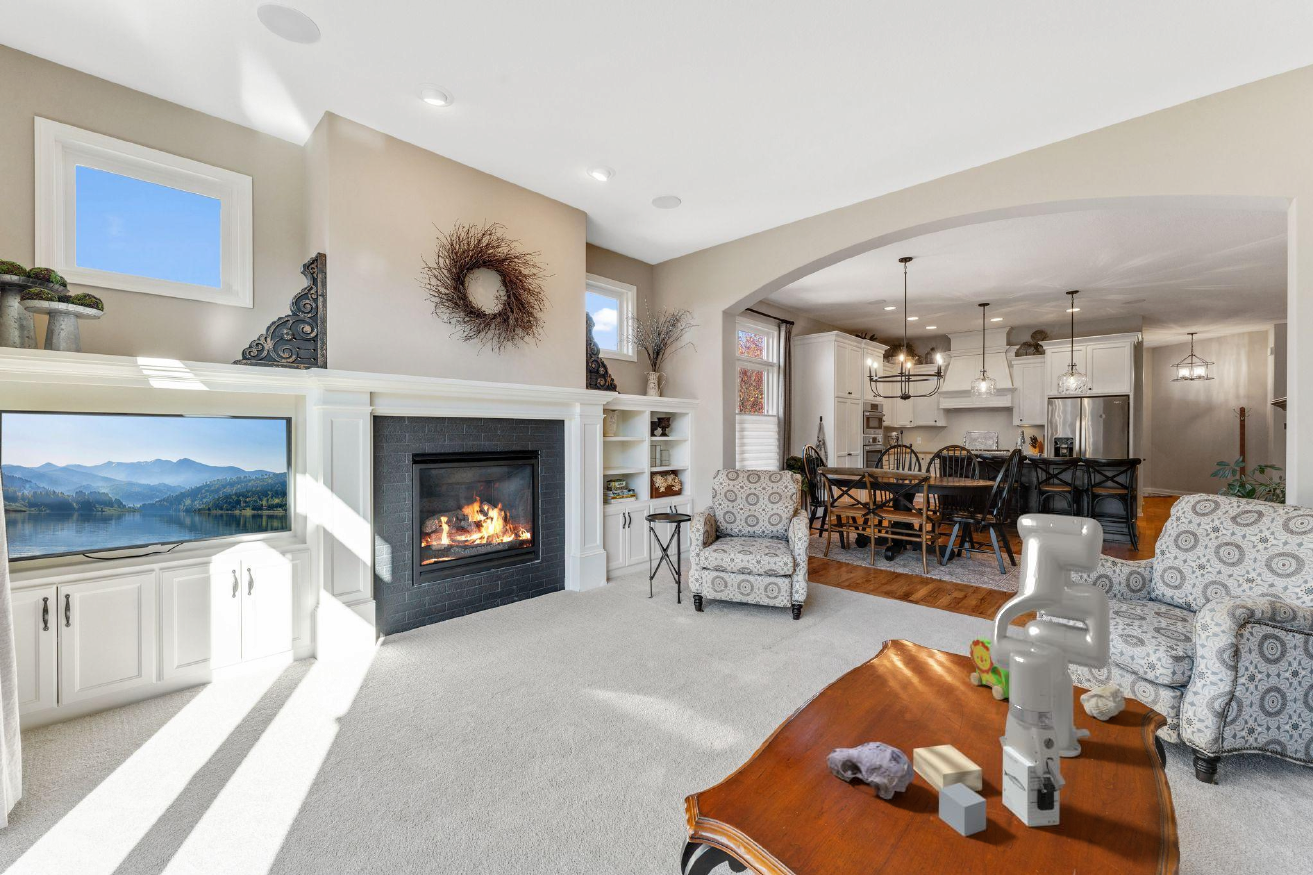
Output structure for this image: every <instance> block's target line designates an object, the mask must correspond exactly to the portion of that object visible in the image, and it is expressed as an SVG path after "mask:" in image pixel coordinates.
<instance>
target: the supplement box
mask: <svg viewBox="0 0 1313 875" xmlns="http://www.w3.org/2000/svg"><path fill="white" fill-rule="evenodd" d="M1043 774H1049V771H1048V769H1047V768H1046V770H1045V772H1043ZM1043 780H1044V783H1045V785H1046V784H1048V777H1043ZM1038 789H1040V787H1039V784H1038V776H1036V775H1035V768H1034V765H1033V764H1031V763H1030V762H1029V761H1027V760H1026V759H1025V758H1023V757H1022V756H1021V755H1019V754H1018V753H1017V752H1015V751H1014V750H1013V749H1012V748H1010V747H1009V746H1006V747H1002V805H1004V806H1005V807H1006V808H1007V809H1009V811H1011V812H1012V813H1013V814H1014V815H1015V816H1016V817H1017V818H1018V819H1019V820H1020V821H1021V822H1023V823H1024V824H1025V825H1026V826H1027V827H1043V826H1053V825H1054V826H1055V825H1059V824H1060V790H1057V792H1054V809H1053V810H1043V811H1041V810H1039V809H1038V807H1037V790H1038Z"/></svg>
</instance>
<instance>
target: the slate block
mask: <svg viewBox="0 0 1313 875" xmlns="http://www.w3.org/2000/svg"><path fill="white" fill-rule="evenodd" d="M938 792H939V793H938V802H939V803H938V817H939V819H941V820H942V821H943V822H945V823H946V824H947V825H949V826H950V827H951V828H953V829H954V830H955V831H956V832H957V833H959V834H960V835H962V836H963V837H965V838H966V837H967V836H971V835H973V834H976V833H979V832H983V831H985V830H986V829H987V799H985V797H983V796H981V795H980V794H979V793H977V792H976V791H972V790H971V789H969V788H968V787H966V786H965V785H963V784H962V783H957V784H953V785H950V786H947V787H944V788H940V789H939V791H938Z"/></svg>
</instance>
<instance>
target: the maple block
mask: <svg viewBox="0 0 1313 875" xmlns="http://www.w3.org/2000/svg"><path fill="white" fill-rule="evenodd" d="M912 756H913V758H912V759H913V763H912V767H913V769H914V772H915V771H916V773H917V774H919V775H920V776H921V777H922V778H923V779H924V780H925V781H926V782H927V783H929V785H931V786H932V787H933V788H934V789H935V790H936V791H938V792H939V789H940V788H944V787H947V786H950V785H953V784H957V783H962V784H963V785H965V786H966V787H968V788H969V789H971V790H972V791H974V792H977V791H982V790H983V768H982V767H980V766H978V764H976V763H975V762H974V761H973V760H971V759H970V758H968V757H967V756H966V755H964V754H963V753H962V752H960V750H958V749H956V747H954V746H953V745H951V744H943V745H935V746H929V747H928V746H927V747H919V748H917V747H916V748H913V755H912Z"/></svg>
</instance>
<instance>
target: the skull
mask: <svg viewBox="0 0 1313 875" xmlns="http://www.w3.org/2000/svg"><path fill="white" fill-rule="evenodd" d="M826 763H827V765H828V766H827V767H828V772H829V773H830V771H832V774H833V775H835V776H836V777H837V778H840V779H841V780H844V781H847V782H850V780H852V778H854V777H857V778H859V779H861V780H863V782H864V783H867V784H868V785H869V786H870V787H871V788H872V789H873V790H874V791H875V792H876V794H877V795H878V796H879V797H880V798H883V799H885V800H890V799H892V798H893V796H894V793H895V791H896V792H903V793H904V792H906V790H907V789H908V785H909V784H910V783H911V782H913V781H914V779H915V770H914V769H913V763H912V762H911V760H910V759H909V758H908V756H907V755H906V754H905V753H904V752H903V751H902V750H900V749H898V748H896V747H893V746H890V745H889V744H886V743H884V742H878V741H876V742H874V741H872V742H866V743H863V744H862V745H858V746H857V747H854V748H847V747H846V748H845V747H844V748H835V749H834V750H832V751H831V752H830V754H829V755H828V756H826Z"/></svg>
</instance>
